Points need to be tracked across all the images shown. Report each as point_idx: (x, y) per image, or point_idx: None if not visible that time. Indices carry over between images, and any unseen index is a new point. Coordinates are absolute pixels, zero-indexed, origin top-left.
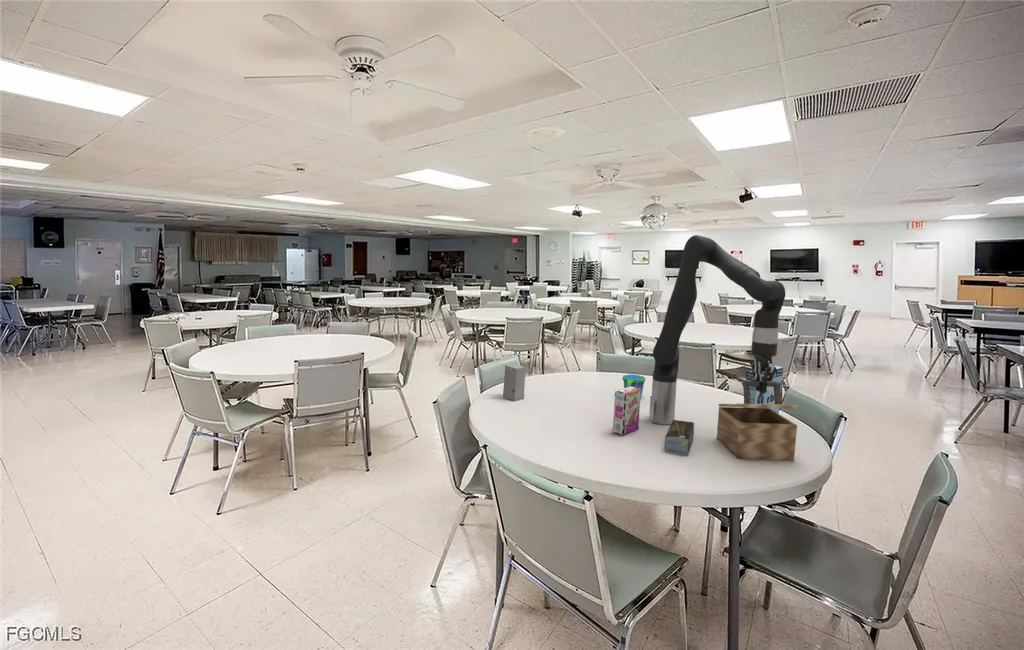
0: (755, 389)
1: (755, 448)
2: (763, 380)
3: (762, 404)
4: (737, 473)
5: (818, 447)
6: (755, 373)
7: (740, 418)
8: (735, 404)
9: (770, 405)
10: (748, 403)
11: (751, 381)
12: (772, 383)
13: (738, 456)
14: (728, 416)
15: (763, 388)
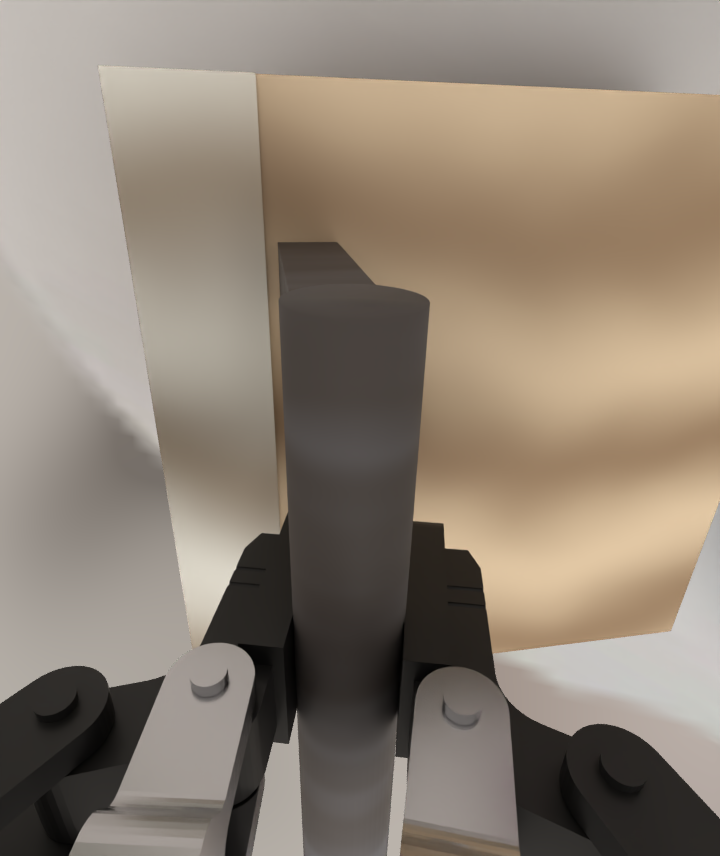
0: (442, 524)
1: None
2: (63, 682)
3: (152, 398)
4: (44, 3)
5: None
6: (515, 825)
7: None
8: (289, 76)
9: (166, 478)
10: (277, 277)
11: (310, 505)
12: (301, 784)
13: None
14: None
15: (234, 583)
